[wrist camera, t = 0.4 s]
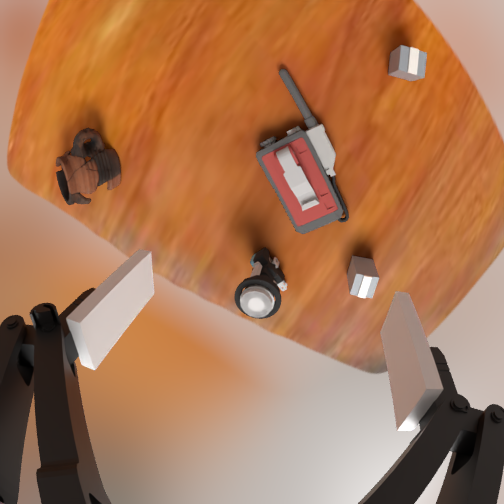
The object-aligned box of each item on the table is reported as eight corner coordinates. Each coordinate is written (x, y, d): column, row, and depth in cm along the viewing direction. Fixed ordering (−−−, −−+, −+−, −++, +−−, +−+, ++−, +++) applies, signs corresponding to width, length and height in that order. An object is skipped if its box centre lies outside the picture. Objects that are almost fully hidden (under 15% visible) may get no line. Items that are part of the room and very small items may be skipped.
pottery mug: (124, 203, 45) (76, 222, 39) (98, 175, 48) (55, 191, 43) (125, 130, 36) (68, 146, 31) (98, 110, 40) (49, 123, 35)
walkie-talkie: (362, 209, 38) (290, 66, 32) (367, 221, 34) (287, 61, 29) (301, 235, 41) (227, 100, 36) (299, 249, 38) (217, 98, 32)
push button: (300, 275, 44) (296, 319, 35) (270, 293, 46) (259, 337, 37) (272, 238, 42) (260, 275, 33) (241, 258, 44) (223, 298, 35)
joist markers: (390, 52, 29) (401, 44, 24) (413, 59, 28) (427, 52, 24) (346, 274, 42) (350, 295, 37) (367, 278, 42) (372, 299, 37)
